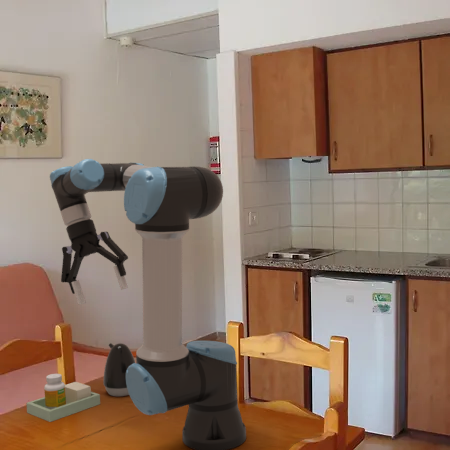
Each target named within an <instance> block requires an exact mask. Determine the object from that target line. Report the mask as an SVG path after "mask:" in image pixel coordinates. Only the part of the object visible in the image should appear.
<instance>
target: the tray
mask: <svg viewBox="0 0 450 450" xmlns="http://www.w3.org/2000/svg"><path fill="white" fill-rule="evenodd" d="M99 405H101V393H100V394H99V393H96V392H94V391H91V396H89V397H87V398H84V399H81V400H78V401H75V402H72V403H69V404H66V405H63V406H60V407H57V408H54V409H51V410H50V409H48V408H46V407H45V396H43V397H40V398H38V399H37V398H36V399H35V400H31V401H28V402H26V413H27V414H29V415H31V416H34V417H36V418H38V419H42V420H43V421H47V422H50V423H51V422H54V421H57V420H59V419H62V418H65V417H68V416H71V415H75V414H76V413H80V412H83V411H85V410H88V409H91V408H93V407H97V406H99Z"/></svg>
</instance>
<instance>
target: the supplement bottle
mask: <svg viewBox="0 0 450 450" xmlns="http://www.w3.org/2000/svg"><path fill="white" fill-rule="evenodd" d="M62 377H63V376H62V374H61V373H51V374H48V375H46V378H45V379H46V384H44V388H43V390H44V397H45V407H46V408H48V409H50V410H51V409H54V408H57V407H60V406H63V405H66V394H65V385H66V384H65V382H64V381H63V378H62Z"/></svg>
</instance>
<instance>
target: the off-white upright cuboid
mask: <svg viewBox="0 0 450 450" xmlns="http://www.w3.org/2000/svg"><path fill="white" fill-rule="evenodd" d="M91 392H92V390H91V386H90V385H88V384H84V383H81V382H78V381H73V382H71V383H68V384H65V394H66V404H69V403H72V402H75V401H78V400H81V399H84V398H87V397H89V396H91Z"/></svg>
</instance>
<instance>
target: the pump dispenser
mask: <svg viewBox="0 0 450 450" xmlns="http://www.w3.org/2000/svg"><path fill="white" fill-rule="evenodd" d="M108 348H110V350H109V352H108V355H107V358H106V362H105V366H104V372H103V381H102V382H103V386H104V388H105V390H106V393H108V395H110V396H112V397H126V396H130V395H129V392H128V389H127V385H126V371H127V369H128V367H129V366H130V365H132V364H133V363H136V359H135V357H134V355H133V353H132V351H131V349H130V348H129V347H128V345H127V344H125V343H121V342H119V343H116V344H113V343H111V342H110V343H109V344H108Z"/></svg>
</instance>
